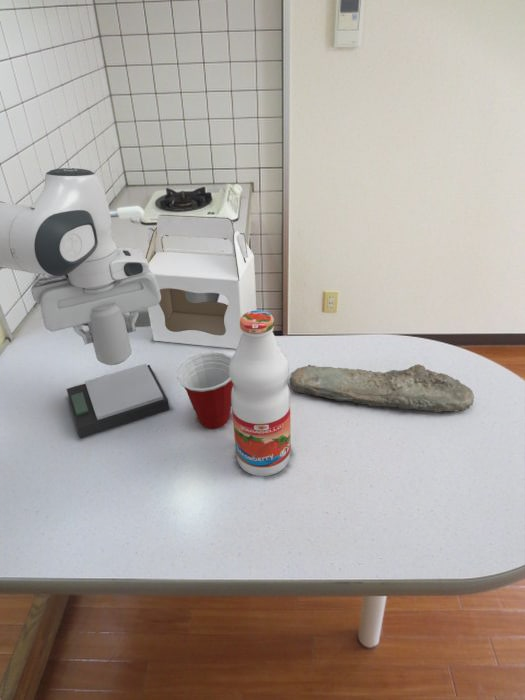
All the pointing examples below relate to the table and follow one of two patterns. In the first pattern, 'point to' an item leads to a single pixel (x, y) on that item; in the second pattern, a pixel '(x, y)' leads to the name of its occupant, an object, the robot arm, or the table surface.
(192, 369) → the plastic cup
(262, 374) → the fruit juice
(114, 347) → the beverage can
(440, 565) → the table surface
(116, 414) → the kitchen scale
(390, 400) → the long grey stone
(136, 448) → the table surface
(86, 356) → the table surface
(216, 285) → the gable box
